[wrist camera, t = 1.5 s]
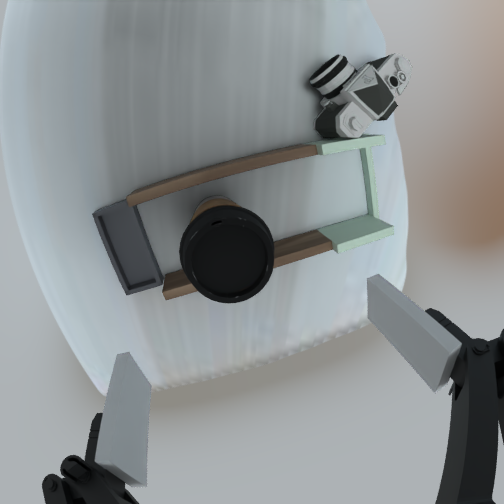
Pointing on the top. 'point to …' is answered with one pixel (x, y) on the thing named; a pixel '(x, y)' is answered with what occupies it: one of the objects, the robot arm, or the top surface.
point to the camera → (358, 94)
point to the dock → (368, 225)
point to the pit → (128, 247)
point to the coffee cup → (226, 251)
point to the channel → (285, 248)
